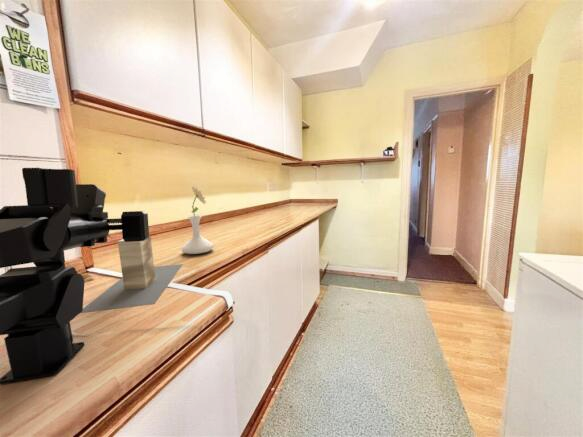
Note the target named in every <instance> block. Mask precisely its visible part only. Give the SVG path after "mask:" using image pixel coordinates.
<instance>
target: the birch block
mask: <svg viewBox="0 0 583 437" xmlns="http://www.w3.org/2000/svg"><path fill="white" fill-rule="evenodd" d="M152 245H153V244H152V238H151V235H149V238H148V239H147V240H144V241H134V242H125V241H124V239H123V238H122V239H120V240H117V246H118V254H119V261H120V267H121V268H120V269H121V274H122V275H121V276H122V277H123V283H124V289H140V288H147V287H148V286H149V285H150V284H152V283H153V282H154V281H155V280H156V278H155V270H154V267H155V263H154V254H153V246H152Z"/></svg>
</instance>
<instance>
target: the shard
mask: <svg viewBox="0 0 583 437" xmlns="http://www.w3.org/2000/svg"><path fill="white" fill-rule="evenodd" d="M81 275H82V276H83V278H84V284H85V283H88V282H91V281H95V280H96V279H95V278H94V277H93V275H90V274H89V273H83V274H81Z"/></svg>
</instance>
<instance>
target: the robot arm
mask: <svg viewBox="0 0 583 437" xmlns="http://www.w3.org/2000/svg"><path fill="white" fill-rule="evenodd" d="M21 170H22V171H21V173H22V178H23V181H24V186H25V187H24V188H25V194H26V203H27V205H25V204H24V205H4V206H2V208H1V209H0V269H3V268H8V267H11V268H10V269H8V270H7V271H6V272H3V273H1V274H0V336H4V335H6V337H4V338H3V340H4V341H3V342H4V344H5V349H6V354H7V358H8V362H9V366H10V370H9V371H7V372H6V373H5V374H3V376H2V377H0V385H2V384H9V383H14V382H20V381H21V382H22V381H27V380H33V379H39V378H46V377H50V376H52V377H53V376H54V375H56V374H58V373H59V372H61V370H62V369H63V368H64V367H65V366H66V365H67V364H68V363H69V362H70V361H71V360H72V359H73V358H74V357H75V356H76V354H79V352H80V351H81V350H82V349H83V348H84V347H85V342H84V341H80V342H79V341H78V342H74V338H73V333H72V327H71V322H72V320H74V319H75V318H76V317H78V316H79V315H80V314H82V313H81V312H82V311H83V308H84V294H85V283H84V278H83V276H82V274H80V273H78V271H77V270H76V268H75V267H73V266H66V257H65V251H68V250H71V249H72V250H73V249H77V248H84V247H85V248H87V247H89V248H90V247H94V246H95V244H104V243H107V242H108V235H109V233H110V231H118V230H119V231H121V234H122V239H124V241H125V242H134V241H144V240H147V239H148V238H149V236H150V230H149V212H148V213H147V211H145V210H138V211H137V210H134V211H133V210H132V211H122V213H121V215H120V218H117V217H116V218H109V213H108V211H104V208H105V200H106V196H107V194H106V192H105V191H104V190H102V189H101V187H98V186H97V185H96V184H91V183H90V184H89V183H87V184H85V183H83V184H82V183H81V184H77V181H76V180H77V178H76V170H74V169H70V168H42V167H22V169H21ZM32 263H33V265H34V266H25V267H14V266H20V265H26V264H32ZM12 267H14V268H12Z"/></svg>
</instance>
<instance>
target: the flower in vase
mask: <svg viewBox="0 0 583 437" xmlns="http://www.w3.org/2000/svg"><path fill="white" fill-rule="evenodd" d="M191 189H192V192H193V193H194V195H195V197H194V199H193V202H192V206H191V208H192V210H191V213H193V215H188V216H187V218H188V220H189V221H190V223H191V227H192V235H191V238H190V239H189V240H188V241H186V242H185V244H183V246H181V249H180V251H181V252H182V253H184V254H188V255H198V254H204V253H207V252H210V251H212V250H213V248H214V244H213V243H212V242H211V241H209V240H207V239H206V238H205V237H203V236H202V235H201V233H200V221H201V218H202V217H203V216H202V215H199V214H197V215H195V213H196V212H197V211H198V210H199V207H197V206H195V207H194V204H195V202H196V199H198V201H200V202H201V203H202V204H204V205H205V204H206V203H207V201H206V200H205V197H204V196H203V194H202V192H201V190H199V189H198V188H197V187H196V186H194V185H193V186H191Z"/></svg>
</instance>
